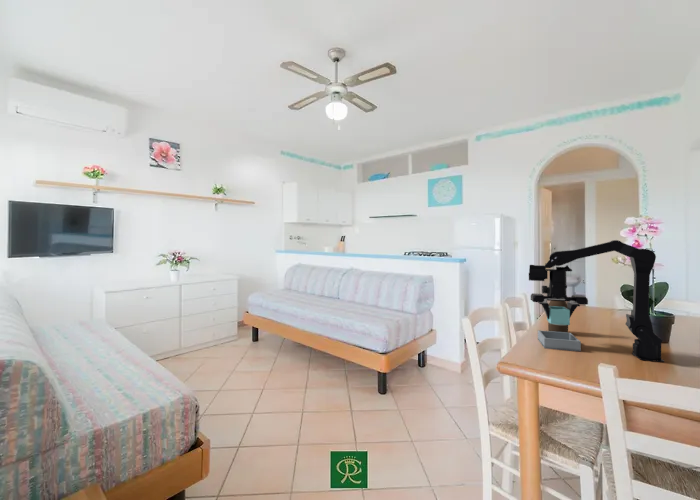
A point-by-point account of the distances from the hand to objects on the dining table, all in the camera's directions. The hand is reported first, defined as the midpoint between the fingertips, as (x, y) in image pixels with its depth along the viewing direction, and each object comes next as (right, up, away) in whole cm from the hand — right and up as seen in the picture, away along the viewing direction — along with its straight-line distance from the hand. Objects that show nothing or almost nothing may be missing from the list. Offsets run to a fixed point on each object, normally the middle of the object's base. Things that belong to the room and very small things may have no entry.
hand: (557, 319), depth 123 cm
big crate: (0, -11, 0) cm, 11 cm away
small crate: (0, -1, 0) cm, 1 cm away
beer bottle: (+12, -10, +17) cm, 23 cm away
